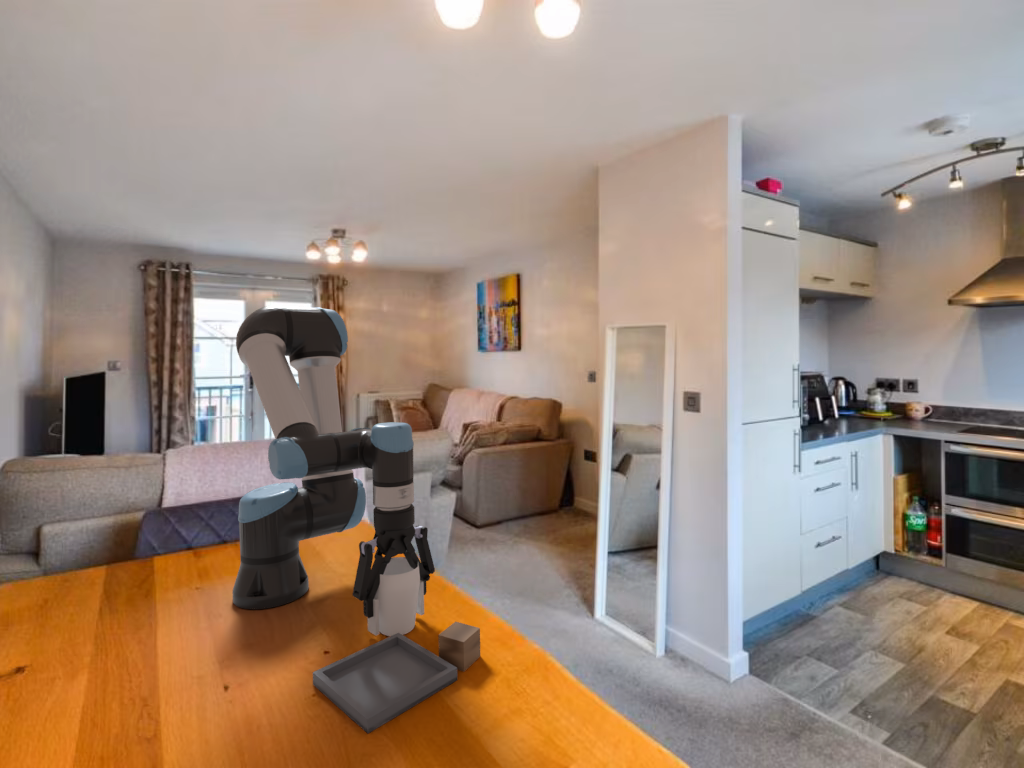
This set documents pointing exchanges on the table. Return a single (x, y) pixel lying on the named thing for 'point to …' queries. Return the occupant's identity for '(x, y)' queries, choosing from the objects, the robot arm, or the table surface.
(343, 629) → the table surface
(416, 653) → the tray
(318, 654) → the table surface
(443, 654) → the walnut cube
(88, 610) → the table surface
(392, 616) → the cup
